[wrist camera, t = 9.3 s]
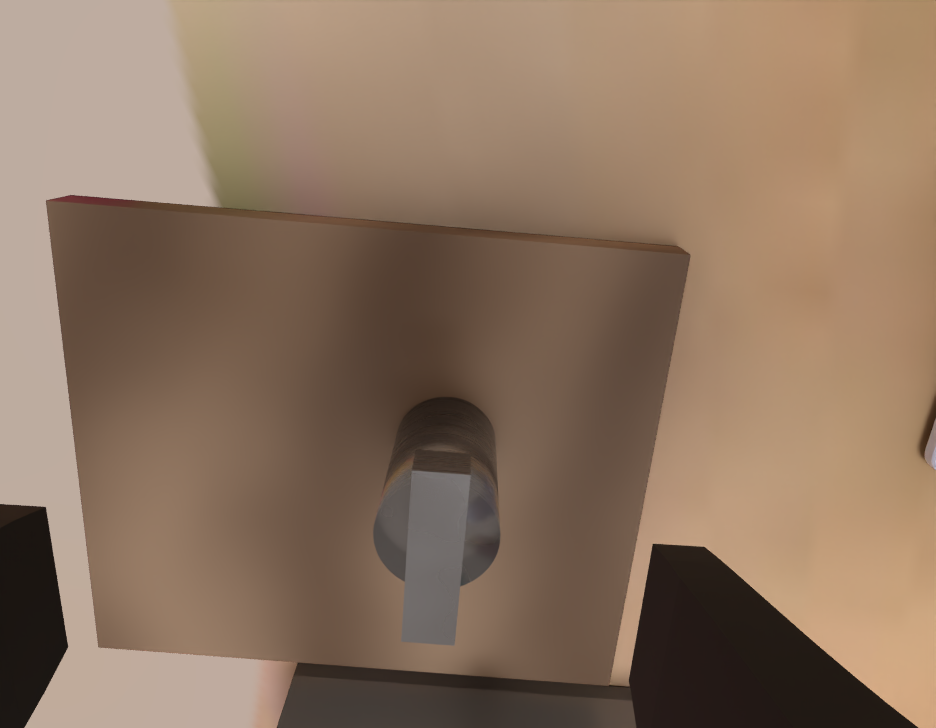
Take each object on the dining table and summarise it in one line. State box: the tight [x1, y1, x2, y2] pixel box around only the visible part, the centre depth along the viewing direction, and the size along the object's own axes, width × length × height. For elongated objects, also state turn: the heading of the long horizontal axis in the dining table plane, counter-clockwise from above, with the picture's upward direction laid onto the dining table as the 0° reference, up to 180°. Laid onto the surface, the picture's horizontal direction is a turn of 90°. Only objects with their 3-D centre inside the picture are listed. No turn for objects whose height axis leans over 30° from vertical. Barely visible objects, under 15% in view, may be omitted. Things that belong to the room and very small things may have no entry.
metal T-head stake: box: [373, 397, 500, 646], centre depth 15 cm, size 2×4×5 cm, turn 175°
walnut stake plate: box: [46, 195, 690, 686], centre depth 18 cm, size 14×12×1 cm
